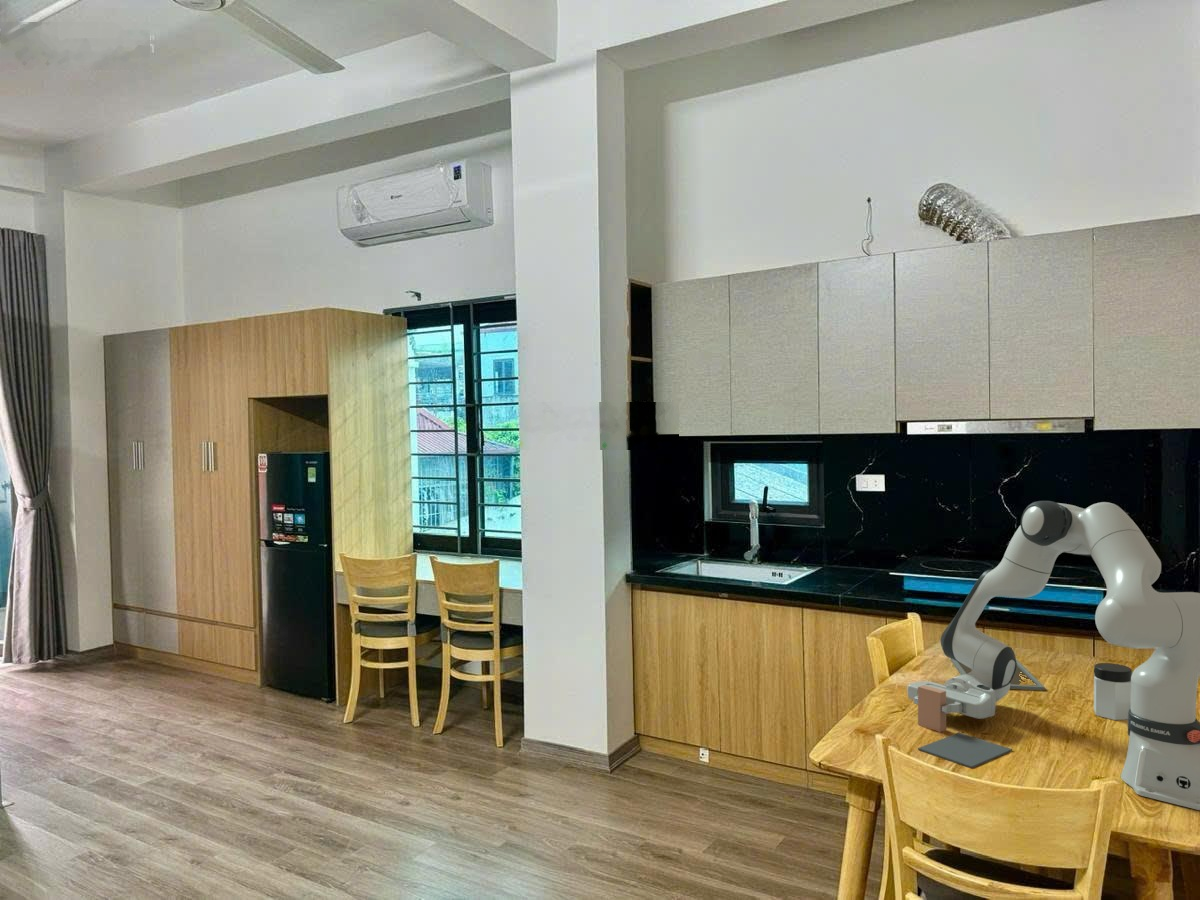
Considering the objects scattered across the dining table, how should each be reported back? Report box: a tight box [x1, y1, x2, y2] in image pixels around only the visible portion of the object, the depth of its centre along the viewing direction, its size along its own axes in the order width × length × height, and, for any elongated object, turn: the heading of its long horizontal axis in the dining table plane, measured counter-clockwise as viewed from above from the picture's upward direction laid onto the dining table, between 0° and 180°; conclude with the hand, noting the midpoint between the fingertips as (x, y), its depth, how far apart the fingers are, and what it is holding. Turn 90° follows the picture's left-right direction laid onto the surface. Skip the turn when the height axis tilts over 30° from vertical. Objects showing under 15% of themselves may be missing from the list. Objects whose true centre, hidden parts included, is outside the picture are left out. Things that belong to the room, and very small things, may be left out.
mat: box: [917, 732, 1013, 769], centre depth 194 cm, size 13×16×1 cm
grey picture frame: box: [950, 658, 1046, 691], centre depth 251 cm, size 19×2×30 cm
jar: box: [1093, 662, 1133, 721], centre depth 215 cm, size 9×8×12 cm
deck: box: [917, 685, 947, 733], centre depth 208 cm, size 2×6×9 cm, turn 35°
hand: (929, 705), depth 208 cm, fingers closed on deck, 6 cm apart
